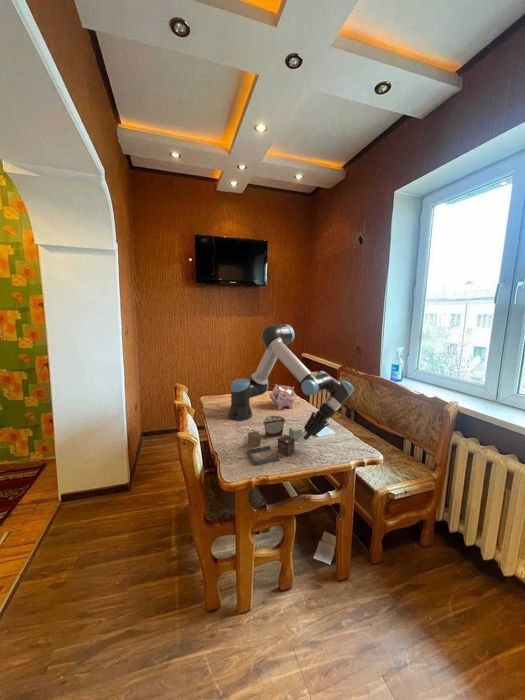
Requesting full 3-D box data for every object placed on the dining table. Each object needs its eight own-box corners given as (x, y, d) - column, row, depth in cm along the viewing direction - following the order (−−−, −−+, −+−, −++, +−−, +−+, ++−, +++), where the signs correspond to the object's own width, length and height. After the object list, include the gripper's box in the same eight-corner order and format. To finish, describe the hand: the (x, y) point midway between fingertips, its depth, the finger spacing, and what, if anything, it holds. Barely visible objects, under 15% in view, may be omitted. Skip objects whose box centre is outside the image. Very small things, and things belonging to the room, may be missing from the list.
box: (284, 448, 138) (284, 434, 137) (294, 452, 134) (295, 438, 133) (276, 452, 133) (277, 438, 132) (287, 457, 129) (287, 442, 128)
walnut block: (247, 443, 142) (248, 432, 141) (257, 441, 143) (257, 430, 142) (251, 447, 137) (251, 436, 136) (260, 446, 139) (260, 435, 138)
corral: (246, 452, 132) (246, 449, 132) (269, 448, 137) (269, 445, 136) (254, 465, 122) (254, 462, 121) (279, 460, 126) (279, 457, 126)
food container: (279, 431, 156) (280, 414, 155) (284, 435, 151) (285, 418, 149) (259, 434, 152) (260, 416, 150) (263, 439, 146) (264, 421, 145)
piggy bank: (266, 403, 200) (267, 382, 197) (290, 402, 205) (290, 381, 202) (273, 411, 185) (273, 388, 183) (298, 409, 190) (299, 387, 188)
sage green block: (288, 437, 149) (289, 427, 148) (297, 436, 151) (297, 425, 150) (293, 441, 144) (293, 430, 144) (301, 440, 146) (302, 429, 145)
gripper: (341, 416, 134) (310, 453, 131) (326, 407, 146) (297, 441, 143) (333, 407, 132) (301, 445, 128) (318, 398, 144) (288, 433, 140)
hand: (299, 443), depth 136 cm, fingers closed
